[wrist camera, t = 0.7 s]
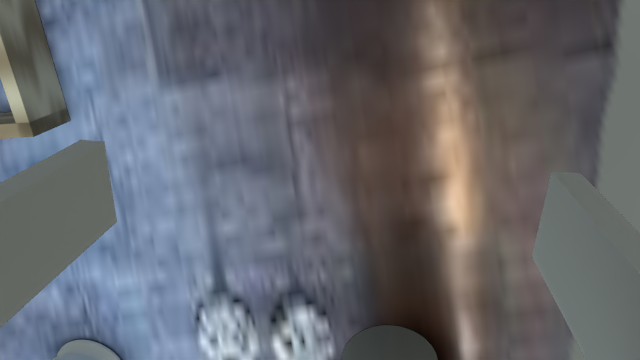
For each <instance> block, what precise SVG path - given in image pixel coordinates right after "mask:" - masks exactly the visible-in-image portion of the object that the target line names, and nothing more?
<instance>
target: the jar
mask: <svg viewBox="0 0 640 360" xmlns="http://www.w3.org/2000/svg"><path fill="white" fill-rule="evenodd" d="M51 360H120V358H119V357H118V356H117V355H116V354H115V353H114V352H113V351H112V350H110V349H109V348H107V347H106V346H104V345H102V344H100V343H97V342H94V341H90V340H74V341H71V342H68V343H66V344H65V345H64V346H62V348H61V349H60V350H59V352H58V354H57V357H56V358H53V359H51Z"/></svg>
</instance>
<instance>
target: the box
mask: <svg viewBox="0 0 640 360" xmlns="http://www.w3.org/2000/svg"><path fill="white" fill-rule="evenodd" d="M0 78H1V81H2V84H3V87H4V90H5V93H6V96H7V99H8V102H9V105H10V107H11V110H12V112H7V113H0V139H6V138H21V137H34V136H36V135H39V134H41V133H43V132H46V131H48V130H50V129H53V128H55V127H57V126H60V125H62V124H64V123H67V122H69V121H70V117H69V114H68V110H67V107H66V104H65V100H64V97H63V94H62V90H61V87H60V84H59V80H58V77H57V73H56V70H55V67H54V63H53V60H52V57H51V53H50V50H49V46H48V43H47V40H46V36H45V33H44V30H43V26H42V23H41V19H40V16H39V13H38V9H37V6H36V3H35V0H0Z"/></svg>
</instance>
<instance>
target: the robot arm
mask: <svg viewBox="0 0 640 360" xmlns="http://www.w3.org/2000/svg"><path fill="white" fill-rule="evenodd" d="M116 222H117V219H116V212H115V206H114V200H113V193H112V187H111V181H110V174H109V168H108V162H107V155H106V149H105V143H104V142H102V141H87V140H80V141H78V142H76V143H74V144H72V145H71V146H69V147H67V148H65V149H63V150H61V151H59V152H58V153H56V154H54V155H52V156H50V157H48V158H46V159H44V160H43V161H41V162H39V163H37V164H35V165H33V166H31V167H30V168H28V169H26V170H24V171H22V172H20V173H18V174H16V175H15V176H13V177H11V178H9V179H7V180H5V181H3V182H2V183H0V328H1V327H2V326H3V325H4V324H5V323H6V322H7V321H8V320H10V319H11V318H12V317H13V316H14V315H15V314H16V313H17V312H18V311H19V310H21V309H22V308H23V307H24V306H25V305H26V304H27V303H28V302H29V301H30V300H31V299H33V298H34V297H35V296H36V295H37V294H38V293H39V292H40V291H41V290H42V289H44V288H45V287H46V286H47V285H48V284H49V283H50V282H51V281H52V280H53V279H54V278H56V277H57V276H58V275H59V274H60V273H61V272H62V271H63V270H64V269H65V268H67V267H68V266H69V265H70V264H71V263H72V262H73V261H74V260H75V259H76V258H78V257H79V256H80V255H81V254H82V253H83V252H84V251H85V250H86V249H87V248H88V247H90V246H91V245H92V244H93V243H94V242H95V241H96V240H97V239H98V238H99V237H101V236H102V235H103V234H104V233H105V232H106V231H107V230H108V229H109V228H110V227H112V226H113V225H114V224H115V223H116ZM532 258H533V260H534V262H535V264H536V265H537V267H538V269H539V271H540V273H541V275H542V277H543V279H544V281H545V283H546V284H547V286H548V288H549V290H550V292H551V294H552V296H553V298H554V300H555V301H556V303H557V305H558V307H559V309H560V311H561V313H562V315H563V317H564V319H565V320H566V322H567V324H568V326H569V328H570V330H571V332H572V334H573V336H574V338H575V339H576V341H577V343H578V345H579V347H580V349H581V350H582V353H583V355H584V357H585V358H586V360H640V233H639V232H638V231H637V230H636V229H635V228H634V227H633V226H632V225H631V224H630V223H629V222H628V221H627V220H626V219H625V218H624V217H623V216H622V215H621V214H620V213H619V212H618V211H617V210H616V209H615V208H614V207H613V206H612V205H611V204H610V203H609V202H608V201H607V200H606V198H604V196H603V195H602V194H601V193H600V192H599V191H598V190H597V189H596V188H595V187H594V186H593V185H592V184H591V183H590V182H589V181H588V180H587V179H586V178H585V177H584V176H583V175H582V174H580V173H565V172H551V177H550V181H549V185H548V190H547V194H546V198H545V203H544V207H543V211H542V216H541V220H540V224H539V229H538V233H537V237H536V241H535V246H534V250H533V254H532Z"/></svg>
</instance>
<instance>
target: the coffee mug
mask: <svg viewBox="0 0 640 360" xmlns="http://www.w3.org/2000/svg"><path fill="white" fill-rule="evenodd" d="M342 360H438V358H437V355H436V352H435V350H434V349H433V347H432V346H431V344H430V343H429V342H428V341H427V340H426V339H425V338H424V337H422V336H421V335H419V334H418V333H416V332H414V331H412V330H409V329H407V328H404V327H400V326H393V325H381V326H375V327H371V328H368V329H365V330H363V331H361V332H359V333H357V334H356V335H355V336H353V337H352V338H351V339H350V340H349V341H348V343H347V344H346V346H345V348H344V350H343V353H342Z"/></svg>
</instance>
